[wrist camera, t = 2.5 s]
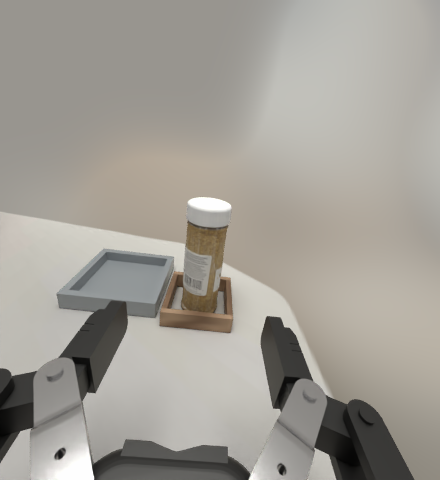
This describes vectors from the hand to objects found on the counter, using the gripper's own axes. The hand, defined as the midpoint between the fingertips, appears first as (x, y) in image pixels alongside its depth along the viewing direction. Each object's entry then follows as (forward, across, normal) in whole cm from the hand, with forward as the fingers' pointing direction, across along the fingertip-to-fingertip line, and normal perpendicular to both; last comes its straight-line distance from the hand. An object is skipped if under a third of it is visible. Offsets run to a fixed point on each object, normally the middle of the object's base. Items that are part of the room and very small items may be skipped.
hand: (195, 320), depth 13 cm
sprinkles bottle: (+12, 0, +10) cm, 16 cm away
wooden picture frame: (+12, 0, +10) cm, 16 cm away
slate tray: (+15, +10, +10) cm, 21 cm away
